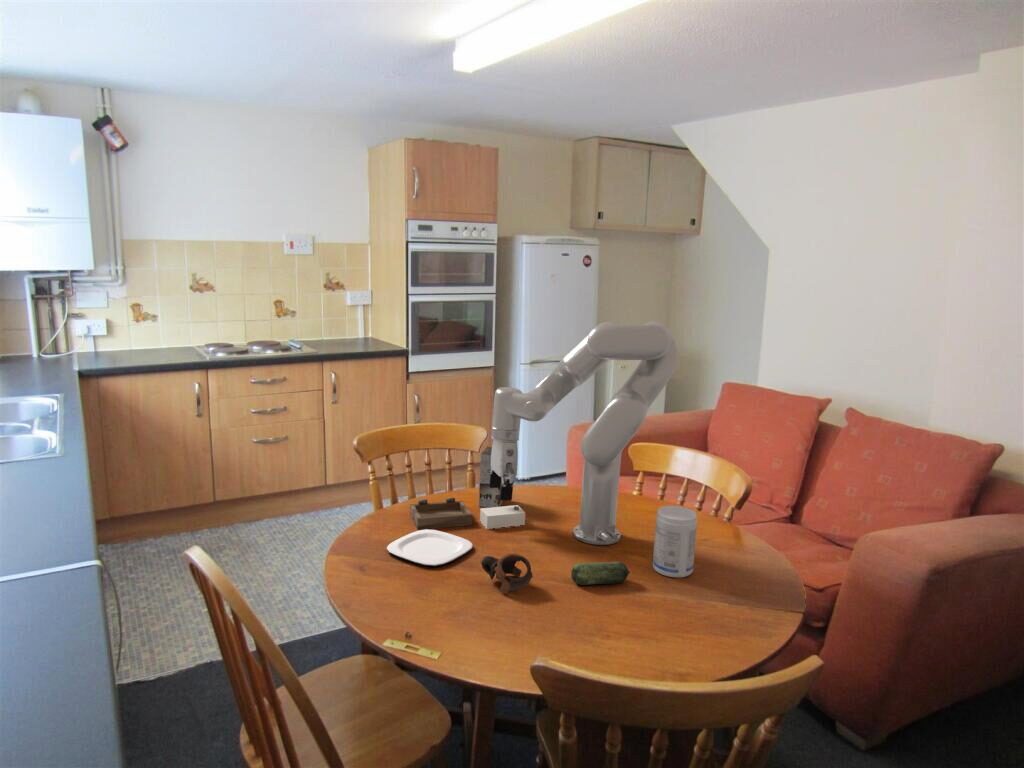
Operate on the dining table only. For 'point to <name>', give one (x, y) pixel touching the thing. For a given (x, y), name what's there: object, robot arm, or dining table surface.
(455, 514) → the brown wooden tray
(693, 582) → the dining table surface
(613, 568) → the vegetable
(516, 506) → the white foam brick
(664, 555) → the supplement tub
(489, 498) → the coffee box
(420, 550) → the plate
